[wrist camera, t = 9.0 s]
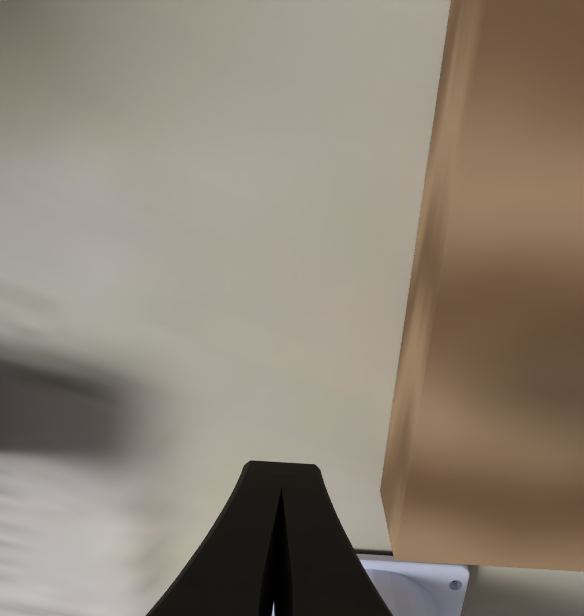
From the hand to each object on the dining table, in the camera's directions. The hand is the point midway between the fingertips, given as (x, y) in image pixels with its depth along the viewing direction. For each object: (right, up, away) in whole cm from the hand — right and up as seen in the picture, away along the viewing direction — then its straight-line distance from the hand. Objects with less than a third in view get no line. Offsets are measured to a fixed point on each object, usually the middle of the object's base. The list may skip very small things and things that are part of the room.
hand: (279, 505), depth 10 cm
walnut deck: (+9, +5, +8) cm, 13 cm away
